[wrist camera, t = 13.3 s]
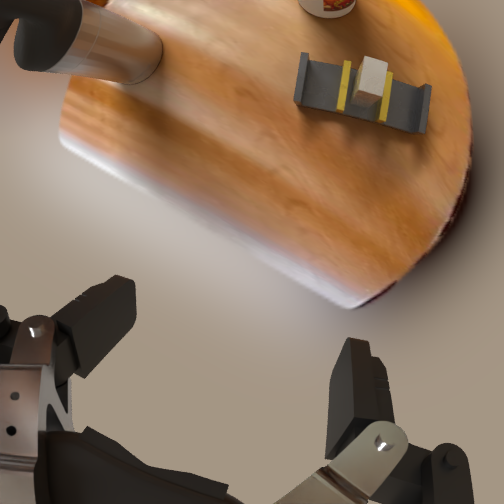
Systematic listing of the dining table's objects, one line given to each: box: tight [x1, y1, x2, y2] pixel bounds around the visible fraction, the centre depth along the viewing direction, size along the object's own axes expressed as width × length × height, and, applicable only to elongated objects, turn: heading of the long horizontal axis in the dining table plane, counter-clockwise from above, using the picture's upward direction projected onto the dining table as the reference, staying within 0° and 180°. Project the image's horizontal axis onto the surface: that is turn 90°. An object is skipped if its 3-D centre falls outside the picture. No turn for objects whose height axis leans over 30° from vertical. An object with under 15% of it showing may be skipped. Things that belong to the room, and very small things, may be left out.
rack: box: [293, 52, 432, 135], centre depth 30 cm, size 6×15×4 cm, turn 81°
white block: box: [349, 56, 388, 108], centre depth 26 cm, size 4×2×10 cm, turn 169°
